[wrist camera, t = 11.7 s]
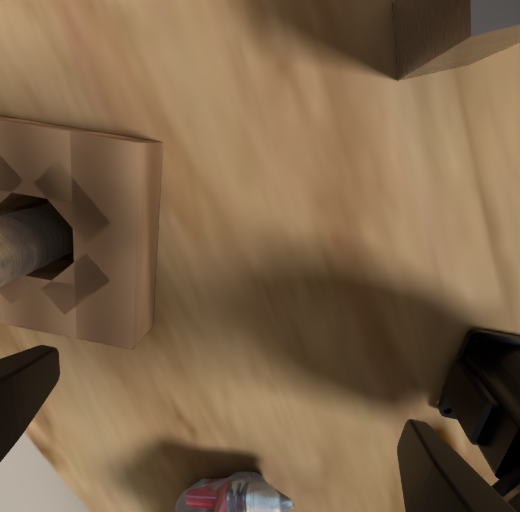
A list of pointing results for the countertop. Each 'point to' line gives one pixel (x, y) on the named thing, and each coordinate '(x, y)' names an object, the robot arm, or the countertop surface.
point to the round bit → (32, 241)
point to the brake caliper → (233, 495)
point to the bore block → (85, 230)
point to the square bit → (451, 33)
